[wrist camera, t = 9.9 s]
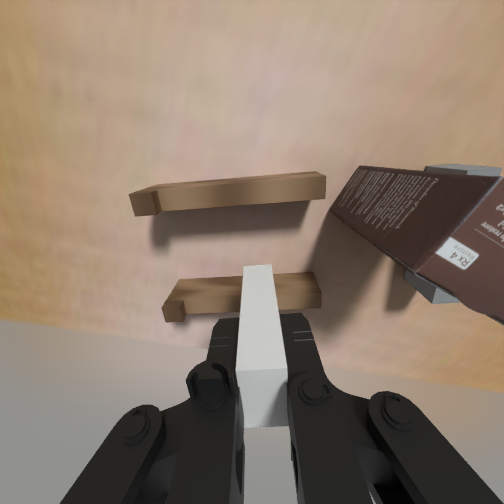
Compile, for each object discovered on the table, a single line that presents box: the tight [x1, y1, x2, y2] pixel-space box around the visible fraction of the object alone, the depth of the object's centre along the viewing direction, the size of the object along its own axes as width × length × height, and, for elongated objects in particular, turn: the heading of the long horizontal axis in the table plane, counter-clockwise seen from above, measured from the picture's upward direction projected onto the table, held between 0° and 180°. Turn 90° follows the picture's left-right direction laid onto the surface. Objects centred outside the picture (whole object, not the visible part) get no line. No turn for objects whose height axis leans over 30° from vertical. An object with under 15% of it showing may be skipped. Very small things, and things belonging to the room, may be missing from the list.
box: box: [330, 166, 504, 325], centre depth 14 cm, size 6×4×12 cm
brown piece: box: [129, 171, 326, 322], centre depth 19 cm, size 13×11×4 cm
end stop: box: [404, 164, 502, 304], centre depth 18 cm, size 2×10×4 cm, turn 5°
